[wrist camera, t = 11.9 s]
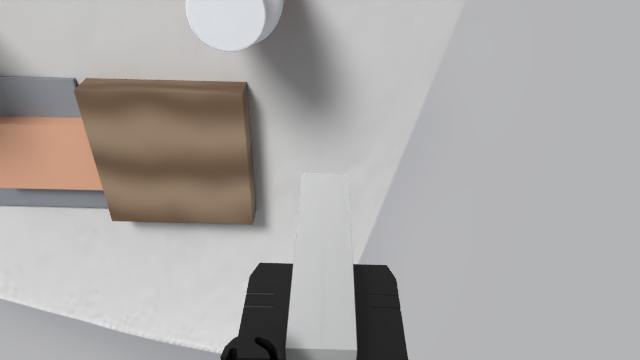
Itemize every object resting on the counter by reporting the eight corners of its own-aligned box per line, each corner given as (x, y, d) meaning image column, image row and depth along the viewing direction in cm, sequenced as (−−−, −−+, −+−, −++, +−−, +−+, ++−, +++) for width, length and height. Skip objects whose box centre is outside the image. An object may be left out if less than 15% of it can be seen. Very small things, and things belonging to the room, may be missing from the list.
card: (-19, 115, 44) (-29, 123, 43) (91, 118, 44) (83, 125, 42) (9, 179, 48) (0, 188, 47) (109, 181, 48) (103, 190, 46)
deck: (86, 78, 42) (73, 90, 40) (246, 82, 42) (242, 94, 40) (121, 205, 50) (112, 221, 48) (256, 209, 50) (252, 224, 48)
